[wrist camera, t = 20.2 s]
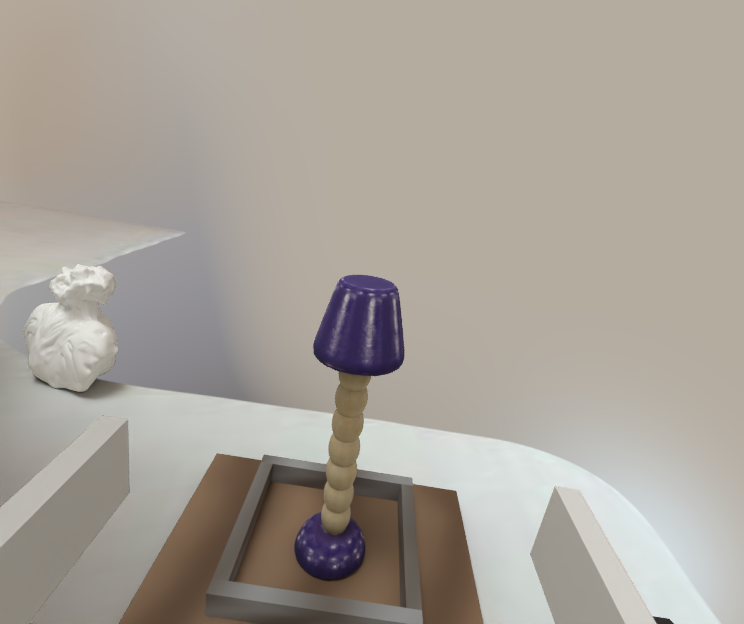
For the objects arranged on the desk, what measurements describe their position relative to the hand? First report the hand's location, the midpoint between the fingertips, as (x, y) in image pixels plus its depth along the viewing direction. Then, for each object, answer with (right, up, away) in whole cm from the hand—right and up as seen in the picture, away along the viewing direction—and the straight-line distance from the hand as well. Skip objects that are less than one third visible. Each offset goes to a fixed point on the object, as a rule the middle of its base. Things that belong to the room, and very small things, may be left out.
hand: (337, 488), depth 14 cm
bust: (-27, 0, +29) cm, 40 cm away
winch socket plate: (-2, -10, +14) cm, 17 cm away
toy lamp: (-2, -9, +13) cm, 16 cm away
